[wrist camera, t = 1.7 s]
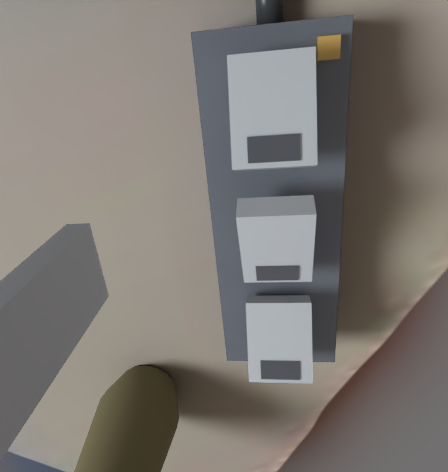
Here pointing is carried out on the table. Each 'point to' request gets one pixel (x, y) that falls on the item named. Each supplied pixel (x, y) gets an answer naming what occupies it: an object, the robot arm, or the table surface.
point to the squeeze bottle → (132, 424)
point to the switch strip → (277, 180)
